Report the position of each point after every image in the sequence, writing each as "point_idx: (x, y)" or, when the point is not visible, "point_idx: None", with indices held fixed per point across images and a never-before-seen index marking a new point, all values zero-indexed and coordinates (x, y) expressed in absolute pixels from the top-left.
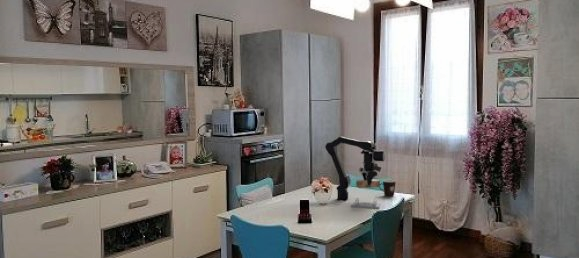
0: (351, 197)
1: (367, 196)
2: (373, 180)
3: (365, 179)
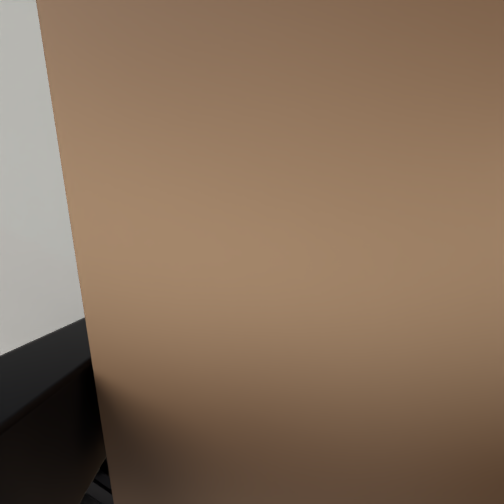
0: (59, 260)
1: (17, 4)
2: (394, 238)
3: (79, 463)
